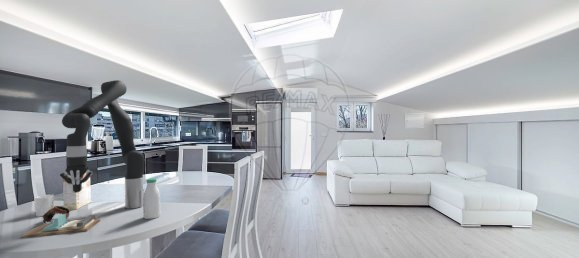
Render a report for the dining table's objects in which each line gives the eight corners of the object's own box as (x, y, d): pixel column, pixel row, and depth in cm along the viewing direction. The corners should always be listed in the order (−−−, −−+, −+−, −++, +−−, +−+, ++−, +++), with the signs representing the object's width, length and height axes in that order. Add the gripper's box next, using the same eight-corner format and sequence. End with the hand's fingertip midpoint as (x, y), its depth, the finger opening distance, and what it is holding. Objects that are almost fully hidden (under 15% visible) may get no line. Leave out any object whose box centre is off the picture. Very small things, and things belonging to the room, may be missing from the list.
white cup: (41, 217, 134) (41, 198, 134) (30, 216, 135) (30, 197, 135) (58, 212, 141) (57, 194, 141) (47, 211, 143) (46, 194, 143)
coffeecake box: (78, 203, 159) (78, 172, 159) (91, 202, 161) (91, 172, 161) (62, 210, 145) (62, 176, 145) (76, 209, 146) (76, 176, 146)
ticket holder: (100, 221, 126) (99, 213, 126) (87, 231, 114) (87, 222, 114) (41, 226, 120) (41, 218, 120) (20, 238, 107) (20, 229, 107)
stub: (68, 222, 121) (68, 212, 121) (56, 229, 112) (56, 219, 112) (55, 224, 120) (55, 214, 120) (43, 231, 111) (42, 220, 111)
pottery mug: (48, 219, 131) (59, 204, 134) (66, 226, 132) (76, 211, 135) (31, 221, 120) (43, 205, 123) (50, 229, 121) (62, 212, 124)
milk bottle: (163, 215, 134) (163, 177, 134) (151, 220, 127) (150, 180, 127) (152, 213, 136) (152, 177, 137) (140, 218, 129) (139, 180, 129)
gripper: (96, 154, 124) (97, 189, 124) (64, 155, 120) (65, 191, 120) (89, 155, 117) (89, 192, 117) (54, 157, 113) (55, 195, 113)
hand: (77, 192), depth 118 cm, fingers closed
